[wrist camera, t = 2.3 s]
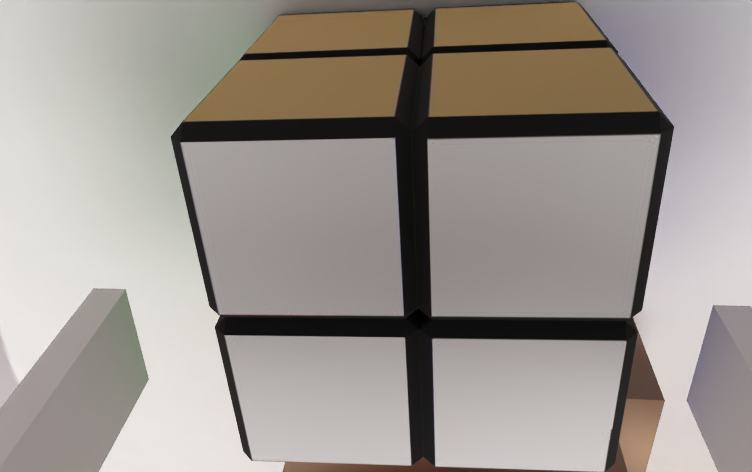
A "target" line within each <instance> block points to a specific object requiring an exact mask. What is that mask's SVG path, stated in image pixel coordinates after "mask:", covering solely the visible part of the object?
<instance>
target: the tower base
mask: <svg viewBox="0 0 752 472" xmlns="http://www.w3.org/2000/svg"><path fill="white" fill-rule="evenodd" d="M632 318H633V317H632ZM633 320H634V319H633ZM634 323H635V322H634ZM635 326H636V324H635ZM636 328H637V327H636ZM637 331H638V330H637ZM664 401H665V400H664V398H663V395H662V392H661V390H660V387H659V385H658V382H657V379H656V377H655V374H654V371H653V369H652V366H651V364H650V361H649V358H648V356H647V353H646V351H645V348H644V345H643V343H642V340H641V337H640V335H639V332H638V335H637V341H636V346H635V352H634V358H633V364H632V369H631V375H630V381H629V386H628V392H627V398H626V404H625V409H624V415H623V421H622V426H621V432H620V438H619V443H620V447H621V450H622V454H623V457H624V461H625V464H626V468H627V472H645V471H646V468H647V464H648V460H649V457H650V453H651V449H652V446H653V442H654V438H655V434H656V431H657V427H658V423H659V420H660V416H661V412H662V408H663V405H664Z"/></svg>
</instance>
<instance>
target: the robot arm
mask: <svg viewBox="0 0 752 472" xmlns="http://www.w3.org/2000/svg"><path fill="white" fill-rule="evenodd" d="M148 380H149V378H148V375H147V371H146V367H145V363H144V359H143V355H142V351H141V348H140V344H139V340H138V336H137V332H136V328H135V324H134V320H133V317H132V313H131V309H130V305H129V301H128V297H127V293H126V289H97V288H94V289H93V290H92V291H91V293H90V294H89V295H88V296H87V298H86V299H85V300H84V302H83V303H82V304H81V305H80V307H79V308H78V309H77V311H76V312H75V313H74V314H73V316H72V317H71V318H70V320H69V321H68V322H67V323H66V325H65V326H64V327H63V329H62V330H61V331H60V332H59V334H58V335H57V336H56V338H55V339H54V340H53V341H52V343H51V344H50V345H49V347H48V348H47V349H46V350H45V352H44V353H43V354H42V356H41V357H40V358H39V360H38V361H37V362H36V363H35V365H34V366H33V367H32V369H31V370H30V371H29V372H28V374H27V375H26V376H25V378H24V379H23V380H22V381H21V383H20V384H19V385H18V387H17V388H16V389H15V390H14V392H13V393H12V394H11V396H10V397H9V398H8V400H7V401H6V402H5V403H4V405H3V406H2V407H1V409H0V472H99V470H100V468H101V466H102V464H103V462H104V461H105V459H106V457H107V455H108V453H109V451H110V450H111V448H112V446H113V444H114V442H115V440H116V439H117V437H118V435H119V433H120V431H121V429H122V427H123V426H124V424H125V422H126V420H127V418H128V416H129V415H130V413H131V411H132V409H133V407H134V405H135V404H136V402H137V400H138V398H139V396H140V394H141V392H142V391H143V389H144V387H145V385H146V383H147V381H148ZM687 402H688V404H689V406H690V408H691V411H692V413H693V415H694V418H695V420H696V422H697V424H698V427H699V429H700V431H701V433H702V436H703V438H704V440H705V443H706V445H707V447H708V449H709V452H710V454H711V456H712V458H713V461H714V463H715V465H716V468H717V470H718V472H752V308H751V307H750V306H719V305H713V308H712V312H711V315H710V319H709V322H708V326H707V330H706V333H705V337H704V340H703V344H702V348H701V351H700V355H699V358H698V362H697V366H696V369H695V373H694V376H693V380H692V383H691V387H690V391H689V394H688V398H687Z"/></svg>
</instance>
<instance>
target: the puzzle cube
mask: <svg viewBox="0 0 752 472" xmlns="http://www.w3.org/2000/svg"><path fill="white" fill-rule="evenodd" d="M673 129H674V126H673V125H672V123H671V122H670V121H669V119H668V118H667V117H666V116H665V114H664V113H663V112H662V110H661V109H660V108H659V106H658V105H657V104H656V102H655V101H654V100H653V98H652V97H651V96H650V94H649V93H648V92H647V90H646V89H645V88H644V87H643V85H642V84H641V83H640V81H639V80H638V79H637V77H636V76H635V75H634V73H633V72H632V71H631V69H630V68H629V67H628V65H627V64H626V63H625V61H624V60H623V59H622V58H621V57H620V56H619V55H618V51H617V50H616V49H615V47H614V46H613V45H612V43H611V42H610V41H609V40H608V38H607V37H606V36H605V34H604V33H603V32H602V31H601V29H600V28H599V27H598V26H597V24H596V23H595V22H594V20H593V19H592V18H591V17H590V15H589V14H588V13H587V12H586V11H585V9H584V8H583V7H582V6H581V5H580V4H579V3H578V2H567V3H545V4H523V5H501V6H480V7H458V8H436V9H434V10H433V11H432V13H431V14H430V15H429V16H428V17H427V18H426V19H425V24H424V18H423V17H422V16H421V15H419V14H418V13H417V12H416V11H415V10H414V9H410V10H388V11H366V12H344V13H322V14H300V15H279V16H278V17H277V18H276V19H275V20H274V22H273V23H272V24H271V25H270V26H269V27H268V28H267V29H266V30H265V32H264V33H263V34H262V35H261V36H260V37H259V38H258V39H257V41H256V42H255V43H254V44H253V45H252V46H251V47H250V48H249V50H248V51H247V52H246V53H245V54H244V55H243V57H242V58H241V59H240V60H239V61H238V62H237V64H236V65H235V66H234V67H233V68H232V69H231V70H230V71H229V72H228V73H227V74H226V75H225V76H224V78H223V79H222V80H221V81H220V82H219V83H218V84H217V85H216V86H215V87H214V88H213V89H212V90H211V92H210V93H209V94H208V95H207V96H206V97H205V98H204V99H203V100H202V101H201V102H200V103H199V105H198V106H197V107H196V108H195V109H194V110H193V111H192V112H191V113H190V114H189V115H188V116H187V117H186V119H185V120H184V121H183V122H182V123H181V124H180V126H179V127H178V128H177V129H176V131H175V132H174V133H173V135H172V136H171V140H172V145H173V149H174V153H175V158H176V162H177V166H178V171H179V175H180V179H181V184H182V188H183V192H184V197H185V201H186V205H187V210H188V214H189V218H190V223H191V227H192V232H193V236H194V240H195V245H196V249H197V253H198V258H199V262H200V266H201V271H202V275H203V279H204V284H205V288H206V292H207V297H208V301H209V305H210V307H211V308H212V309H213V310H214V311H215V312H216V313H217V314H218V315H220V317H219V319H218V322H217V324H216V326H215V330H216V334H217V338H218V343H219V347H220V351H221V356H222V360H223V364H224V369H225V373H226V377H227V382H228V386H229V391H230V395H231V399H232V404H233V408H234V412H235V417H236V421H237V425H238V430H239V434H240V438H241V443H242V447H243V451H244V452H245V454H246V455H247V456H248V457H249V458H250V459H251V460H252V461H277V462H308V463H338V464H369V465H400V466H412V465H413V464H415V463H416V462H417V461H419V460H420V459H421V458H423V457H424V458H425V459H427V460H428V461H429V462H430V463H431V464H432V465H434V466H435V467H450V468H480V469H511V470H541V471H572V472H606V471H607V470H608V469H609V468H610V467H611V466H613V465H614V464H615V461H616V455H617V449H618V444H619V438H620V432H621V426H622V421H623V415H624V409H625V404H626V398H627V392H628V386H629V381H630V375H631V369H632V364H633V358H634V352H635V346H636V341H637V335H638V331H637V328H636V326H635V323H634V320H633V318H632V317H633V316H635V315H636V314H637V313H639V312H640V311H641V310H642V306H643V301H644V295H645V289H646V284H647V278H648V272H649V267H650V261H651V255H652V249H653V244H654V238H655V232H656V227H657V221H658V215H659V209H660V204H661V198H662V192H663V187H664V181H665V175H666V169H667V164H668V158H669V152H670V147H671V141H672V135H673Z"/></svg>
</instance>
